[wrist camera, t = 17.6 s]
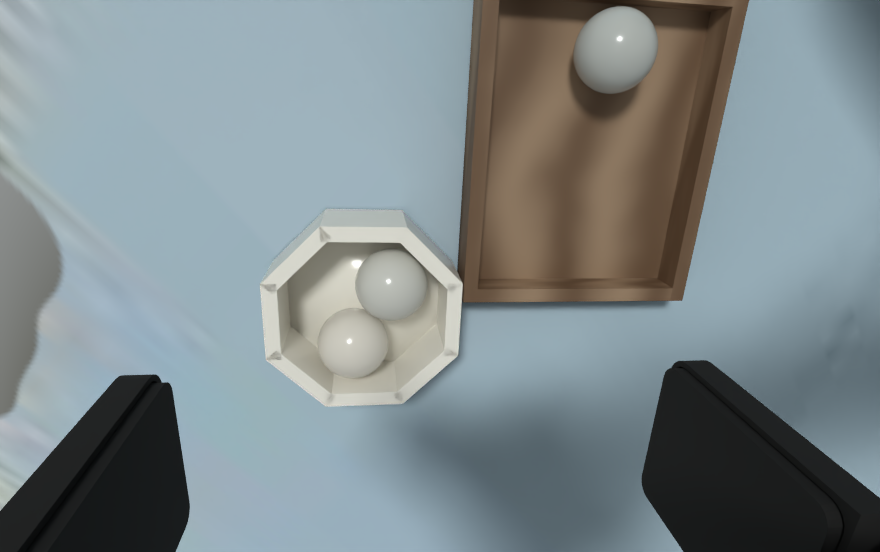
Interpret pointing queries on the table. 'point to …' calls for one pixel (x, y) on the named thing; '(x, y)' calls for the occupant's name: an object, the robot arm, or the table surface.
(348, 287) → the bowl
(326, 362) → the pebble
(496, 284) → the tray
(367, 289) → the white ball
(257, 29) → the table surface
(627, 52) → the pebble
